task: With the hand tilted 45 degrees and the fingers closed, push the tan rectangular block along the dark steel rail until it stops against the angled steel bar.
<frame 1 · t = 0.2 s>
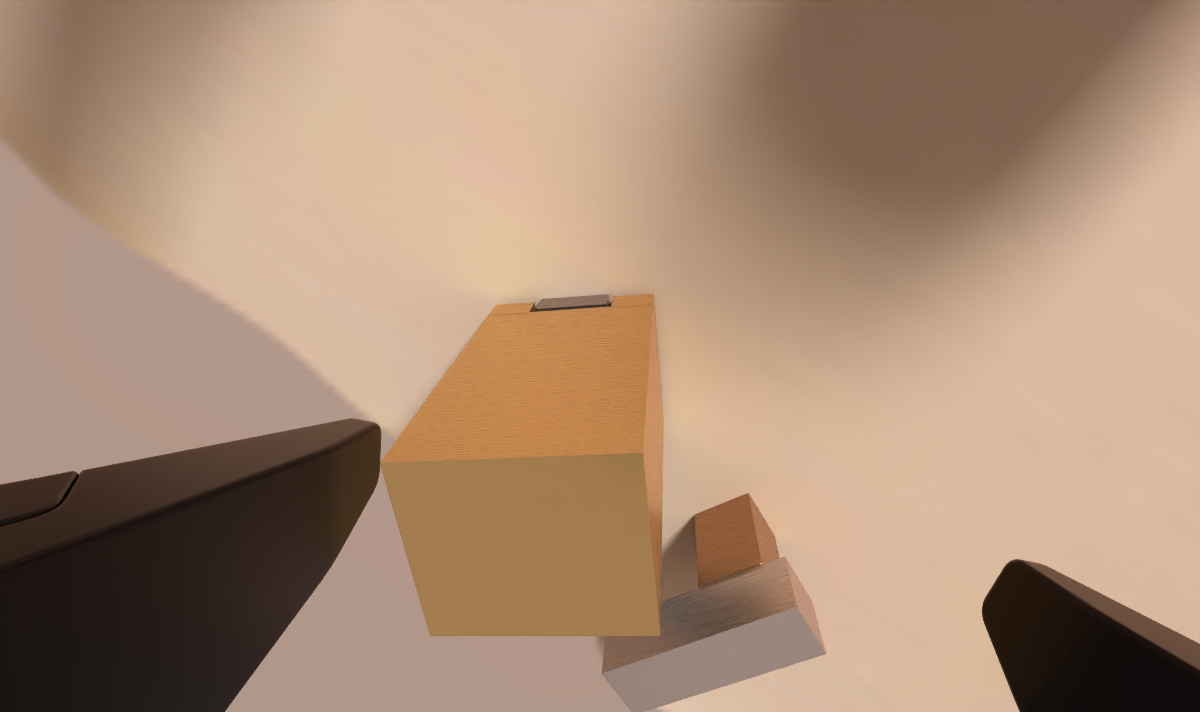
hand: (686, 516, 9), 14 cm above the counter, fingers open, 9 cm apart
tan rectangular block: (561, 435, 19), point 5 cm above the counter, slide at 0.0 cm
rig: (592, 431, 25), on the counter
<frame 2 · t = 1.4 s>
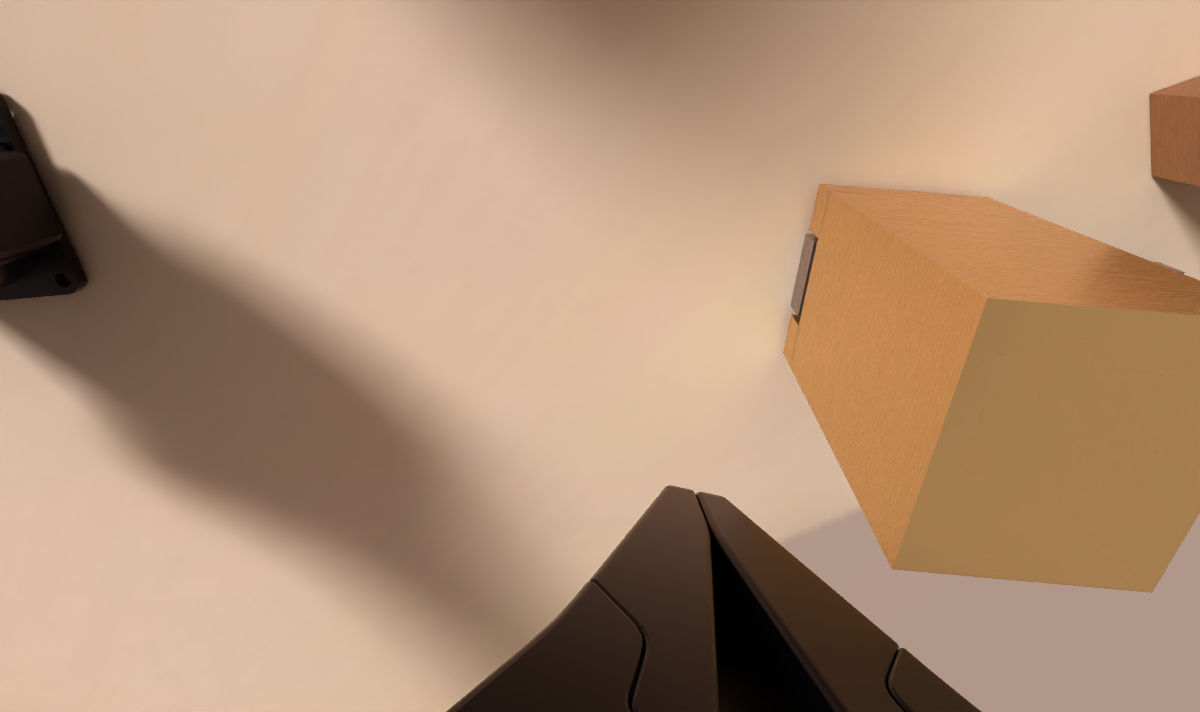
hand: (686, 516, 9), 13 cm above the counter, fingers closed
tan rectangular block: (949, 344, 16), point 5 cm above the counter, slide at 0.0 cm
rig: (969, 284, 20), on the counter
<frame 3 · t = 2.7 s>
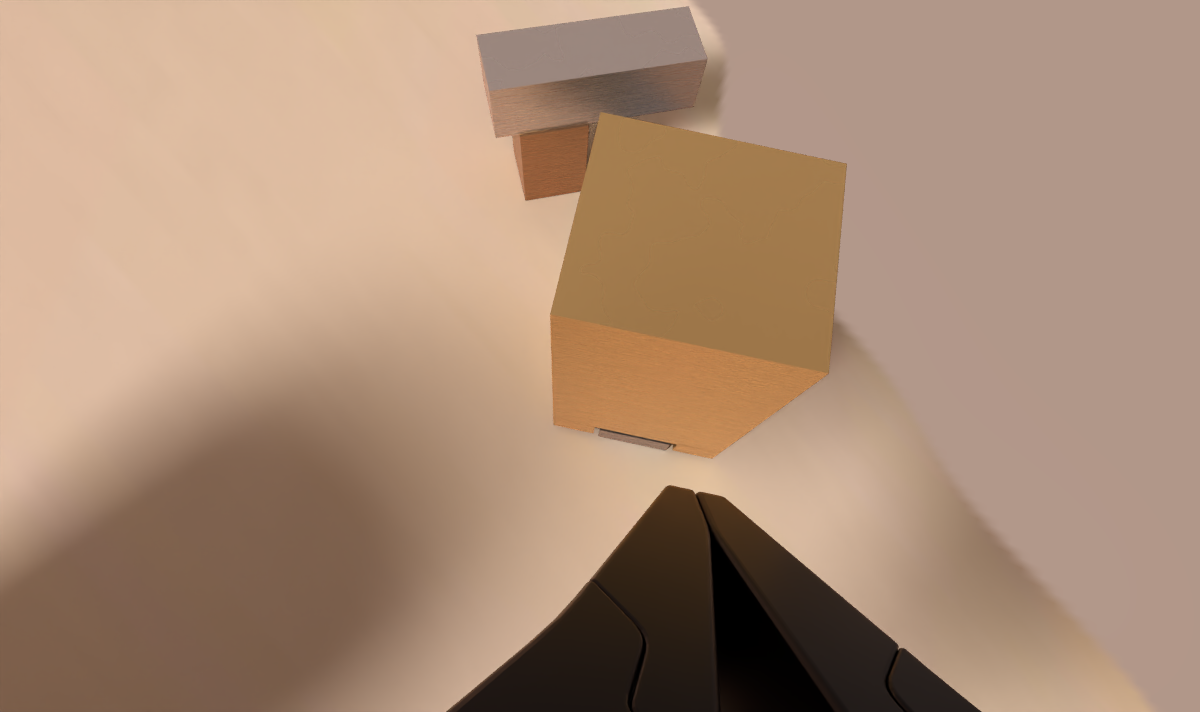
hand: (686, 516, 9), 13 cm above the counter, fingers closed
tan rectangular block: (668, 322, 18), point 5 cm above the counter, slide at 0.0 cm
rig: (658, 302, 24), on the counter
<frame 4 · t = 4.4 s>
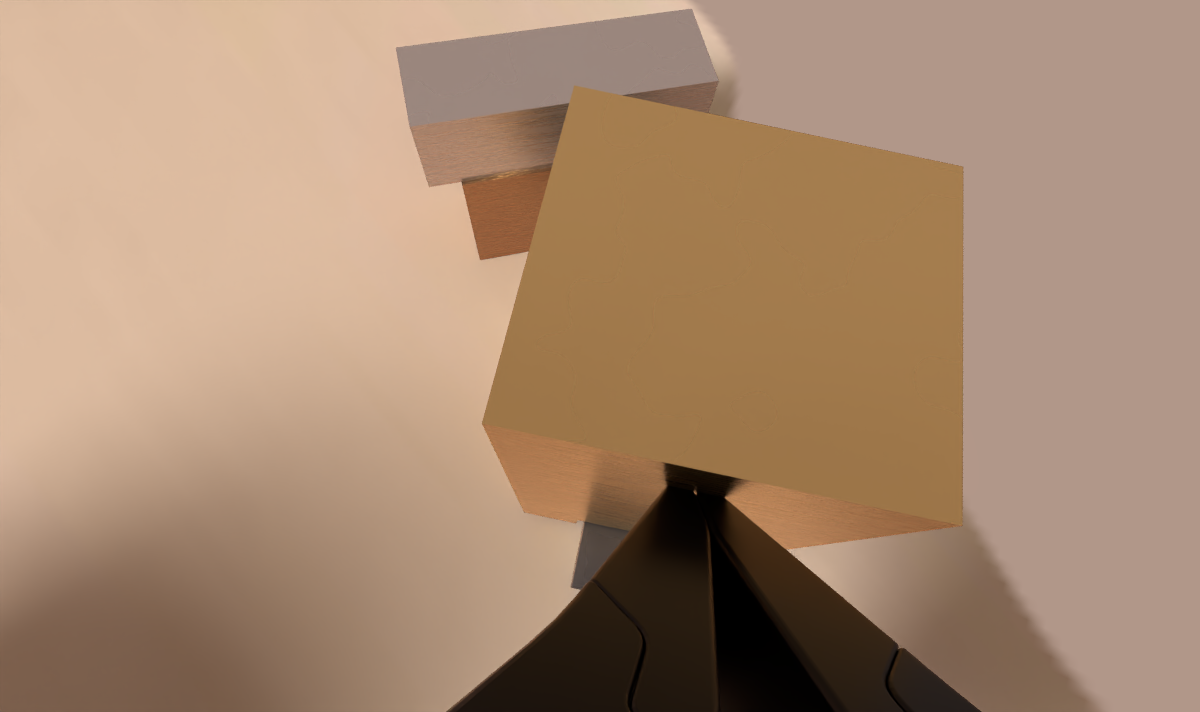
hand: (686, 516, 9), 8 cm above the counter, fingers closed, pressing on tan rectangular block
tan rectangular block: (677, 391, 13), point 5 cm above the counter, slide at 1.6 cm, touching gripper
rig: (651, 396, 18), on the counter
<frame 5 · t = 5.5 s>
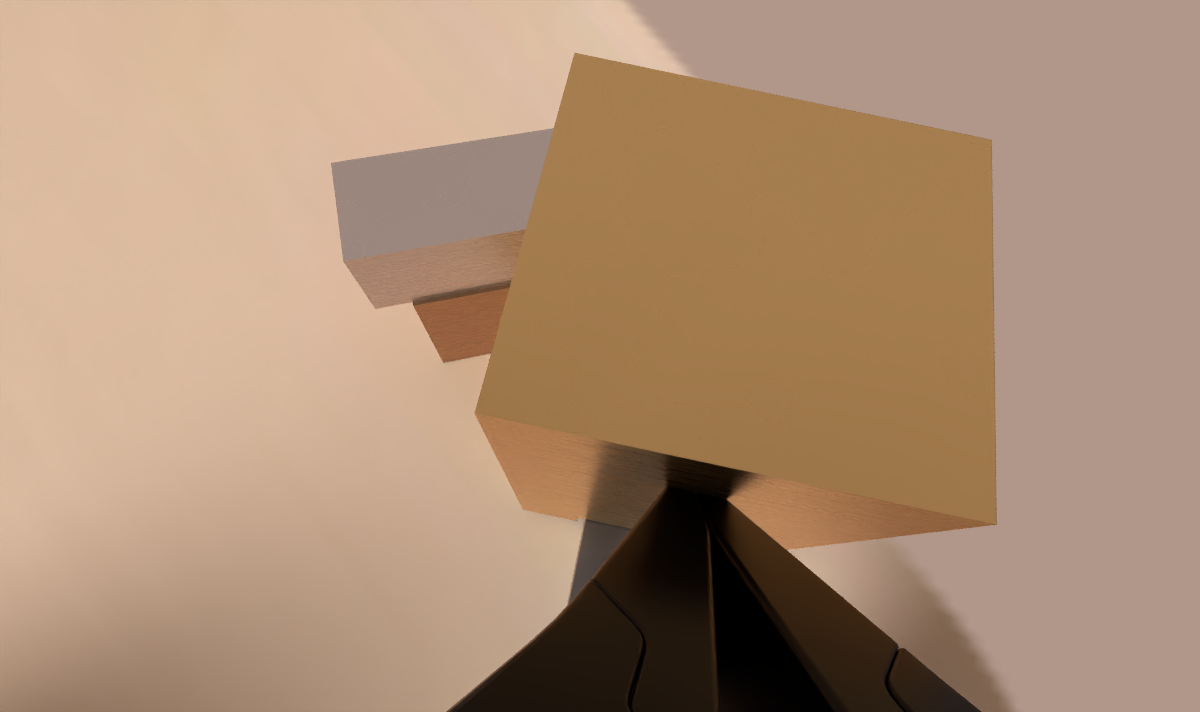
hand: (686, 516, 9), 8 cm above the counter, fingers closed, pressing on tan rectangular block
tan rectangular block: (682, 383, 12), point 5 cm above the counter, slide at 5.2 cm, touching gripper, rig
rig: (631, 521, 16), on the counter
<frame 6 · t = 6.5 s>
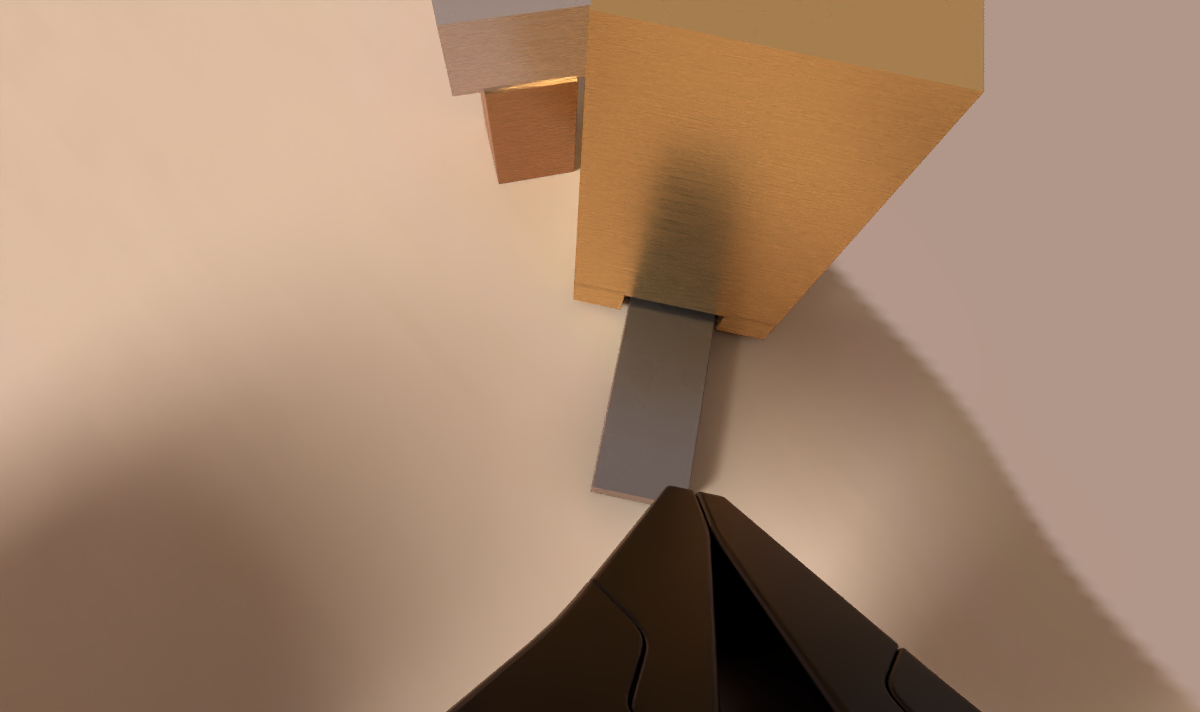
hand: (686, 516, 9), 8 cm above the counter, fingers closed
tan rectangular block: (722, 137, 14), point 5 cm above the counter, slide at 5.2 cm
rig: (668, 314, 19), on the counter
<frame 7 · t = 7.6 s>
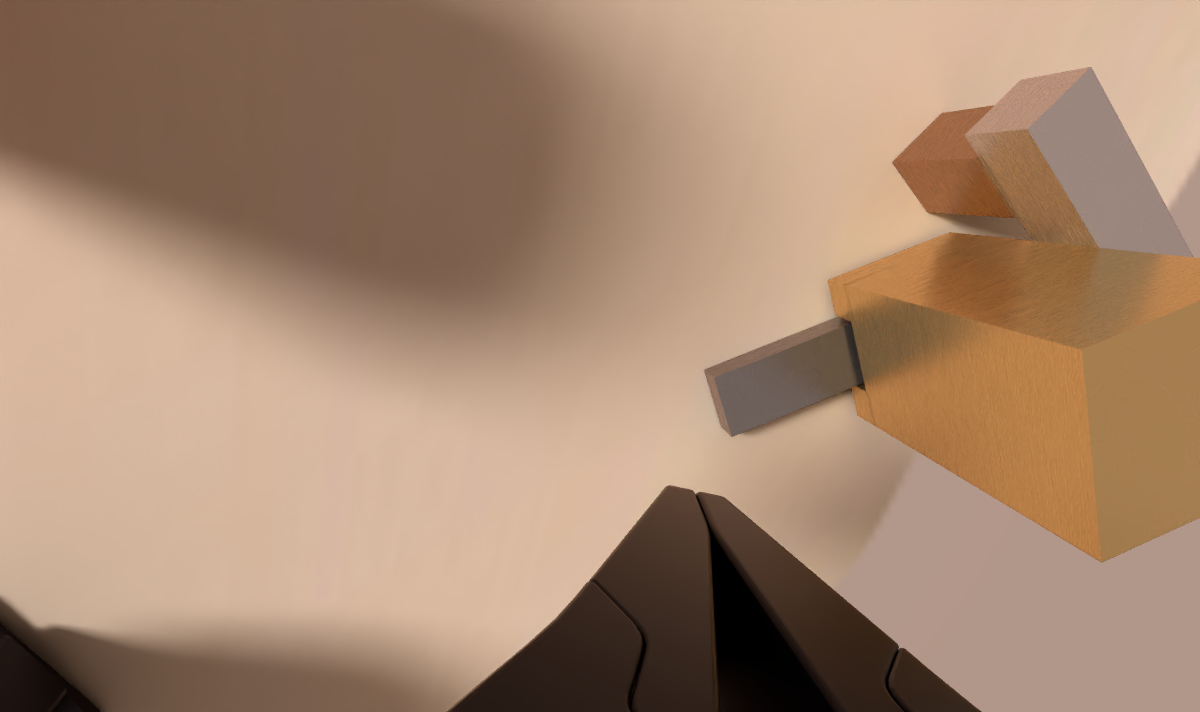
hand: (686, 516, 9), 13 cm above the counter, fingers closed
tan rectangular block: (1009, 361, 19), point 5 cm above the counter, slide at 5.2 cm
rig: (845, 345, 24), on the counter
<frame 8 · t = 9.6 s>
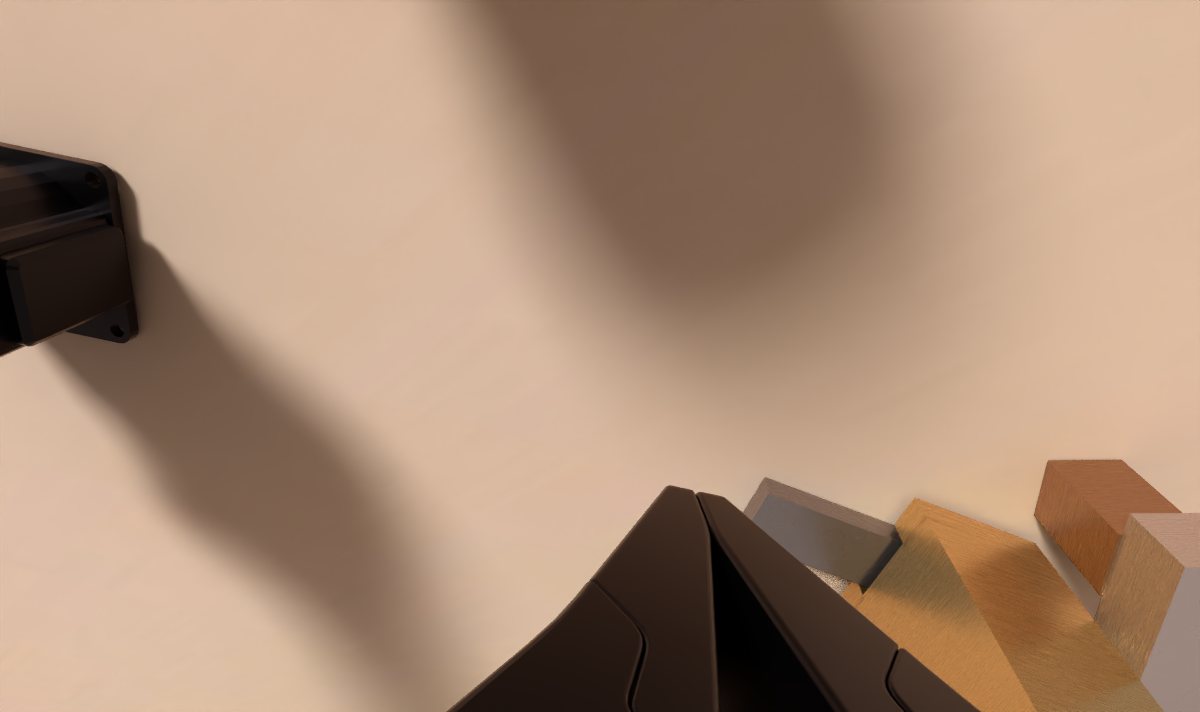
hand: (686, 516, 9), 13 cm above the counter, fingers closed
tan rectangular block: (991, 687, 20), point 5 cm above the counter, slide at 5.2 cm
rig: (879, 548, 25), on the counter
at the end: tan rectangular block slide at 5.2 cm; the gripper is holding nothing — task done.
